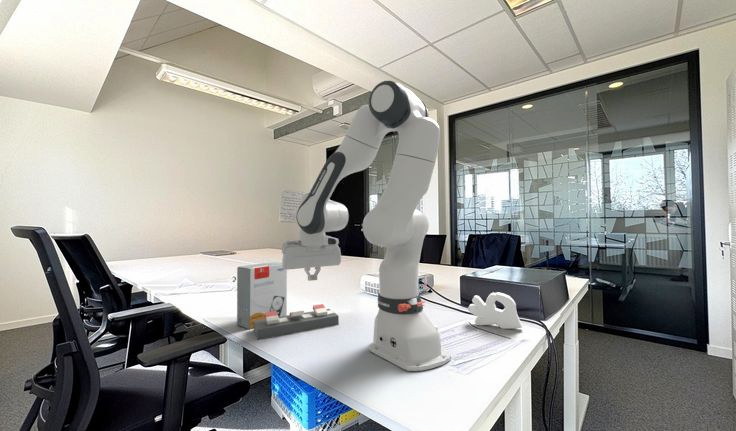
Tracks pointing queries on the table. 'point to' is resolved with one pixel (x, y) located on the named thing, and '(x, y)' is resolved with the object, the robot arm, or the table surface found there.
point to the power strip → (294, 324)
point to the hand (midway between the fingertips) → (312, 280)
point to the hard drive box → (260, 292)
